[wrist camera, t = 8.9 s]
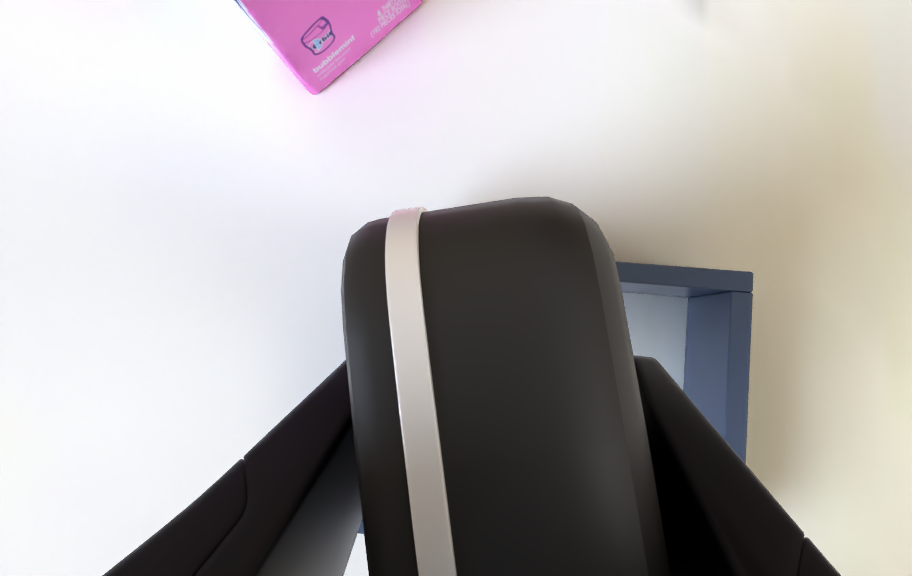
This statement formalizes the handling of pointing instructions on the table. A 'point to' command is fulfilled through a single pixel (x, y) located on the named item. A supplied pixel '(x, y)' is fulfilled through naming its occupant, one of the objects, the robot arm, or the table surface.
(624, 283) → the box
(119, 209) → the table surface
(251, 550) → the robot arm
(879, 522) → the table surface
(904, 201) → the table surface
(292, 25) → the gum box
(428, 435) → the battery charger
